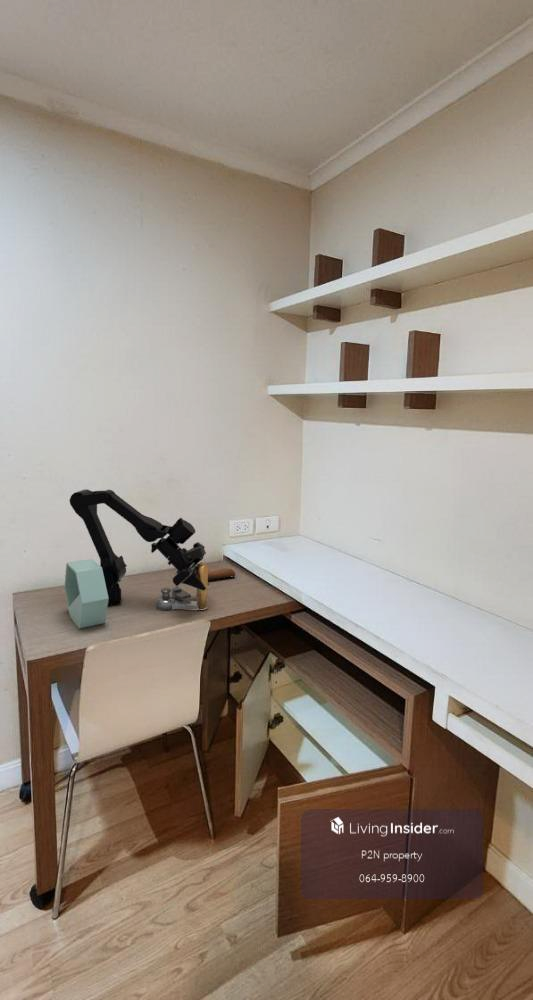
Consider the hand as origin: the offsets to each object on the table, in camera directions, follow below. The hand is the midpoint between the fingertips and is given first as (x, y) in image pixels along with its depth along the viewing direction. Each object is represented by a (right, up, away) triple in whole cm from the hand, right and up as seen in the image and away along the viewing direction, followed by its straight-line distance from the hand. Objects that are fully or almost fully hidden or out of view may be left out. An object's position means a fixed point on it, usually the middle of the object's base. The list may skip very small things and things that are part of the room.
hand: (206, 587), depth 167 cm
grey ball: (-13, -4, +1) cm, 14 cm away
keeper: (-9, -6, +6) cm, 13 cm away
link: (-8, -7, +2) cm, 11 cm away
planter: (-36, -9, -9) cm, 38 cm away
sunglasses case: (-2, -3, +32) cm, 32 cm away
